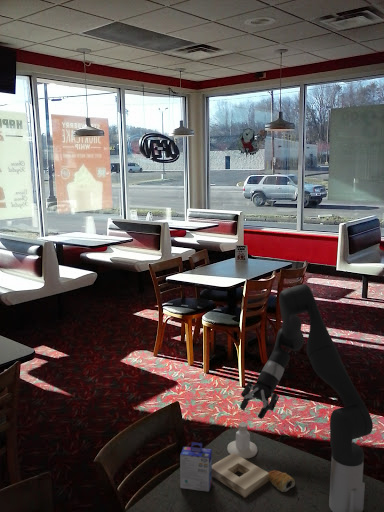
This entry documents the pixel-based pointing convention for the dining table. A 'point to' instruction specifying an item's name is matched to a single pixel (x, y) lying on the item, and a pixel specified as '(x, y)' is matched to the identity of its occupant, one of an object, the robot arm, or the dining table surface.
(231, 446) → the white dome
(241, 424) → the salt shaker
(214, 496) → the dining table surface
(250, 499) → the dining table surface
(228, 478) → the socket block
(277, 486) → the pastry
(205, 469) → the ink cartridge box
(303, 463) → the dining table surface
